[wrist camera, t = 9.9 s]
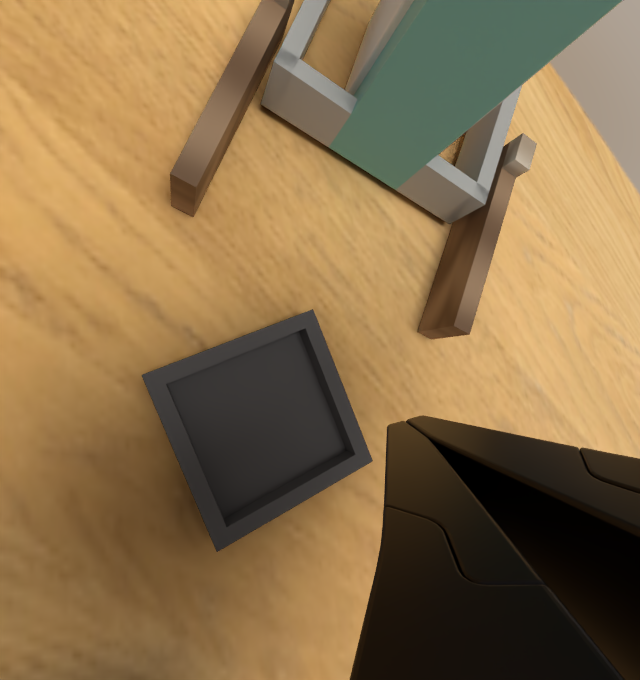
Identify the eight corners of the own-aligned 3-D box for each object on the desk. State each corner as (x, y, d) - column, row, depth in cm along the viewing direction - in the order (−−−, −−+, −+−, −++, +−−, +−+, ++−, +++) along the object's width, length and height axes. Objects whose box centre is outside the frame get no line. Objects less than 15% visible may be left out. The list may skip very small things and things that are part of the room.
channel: (431, 339, 25) (482, 332, 21) (171, 205, 20) (169, 161, 16) (482, 178, 28) (536, 143, 24) (264, 24, 23) (284, -55, 19)
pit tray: (213, 536, 20) (216, 552, 18) (144, 374, 19) (141, 375, 17) (358, 454, 23) (372, 461, 21) (302, 313, 22) (313, 309, 21)
